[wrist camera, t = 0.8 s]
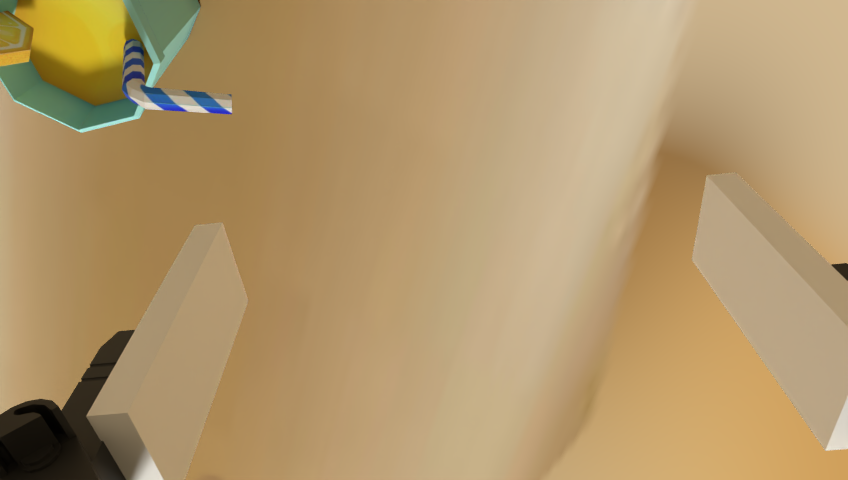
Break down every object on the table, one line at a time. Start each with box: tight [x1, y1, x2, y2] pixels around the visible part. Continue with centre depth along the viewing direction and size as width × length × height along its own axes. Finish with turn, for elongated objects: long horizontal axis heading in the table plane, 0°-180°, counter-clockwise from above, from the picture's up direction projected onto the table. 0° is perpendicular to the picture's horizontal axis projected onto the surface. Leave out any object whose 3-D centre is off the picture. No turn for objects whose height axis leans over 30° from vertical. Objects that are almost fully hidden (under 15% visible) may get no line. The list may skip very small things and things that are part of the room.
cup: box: [0, 0, 232, 133], centre depth 29 cm, size 14×8×15 cm, turn 81°
